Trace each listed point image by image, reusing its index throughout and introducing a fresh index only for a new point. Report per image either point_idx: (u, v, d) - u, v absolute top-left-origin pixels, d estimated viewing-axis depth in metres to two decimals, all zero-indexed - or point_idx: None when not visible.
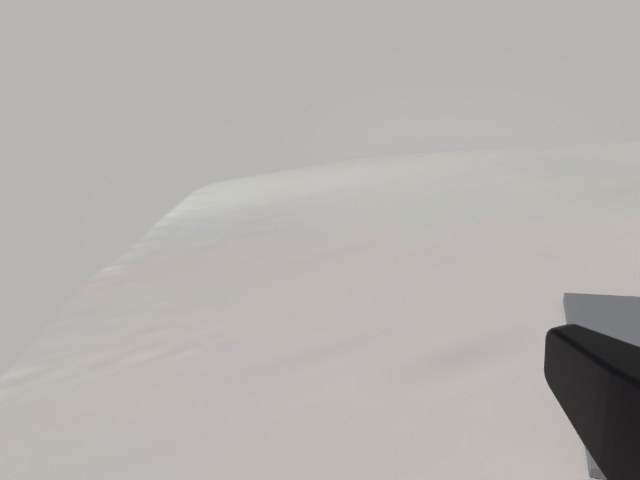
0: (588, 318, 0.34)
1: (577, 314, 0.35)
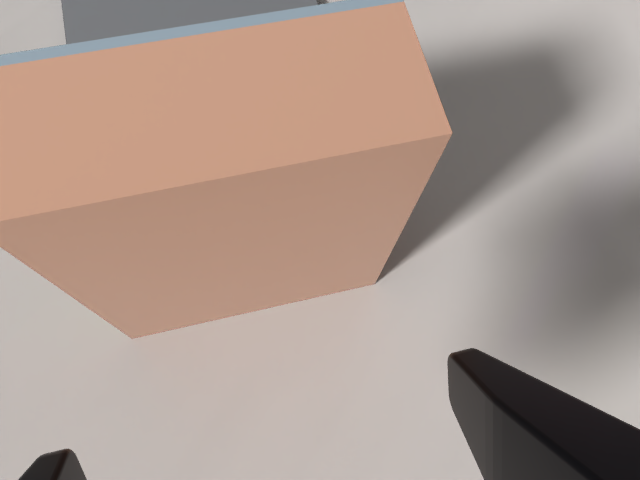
0: (86, 2, 0.27)
1: None
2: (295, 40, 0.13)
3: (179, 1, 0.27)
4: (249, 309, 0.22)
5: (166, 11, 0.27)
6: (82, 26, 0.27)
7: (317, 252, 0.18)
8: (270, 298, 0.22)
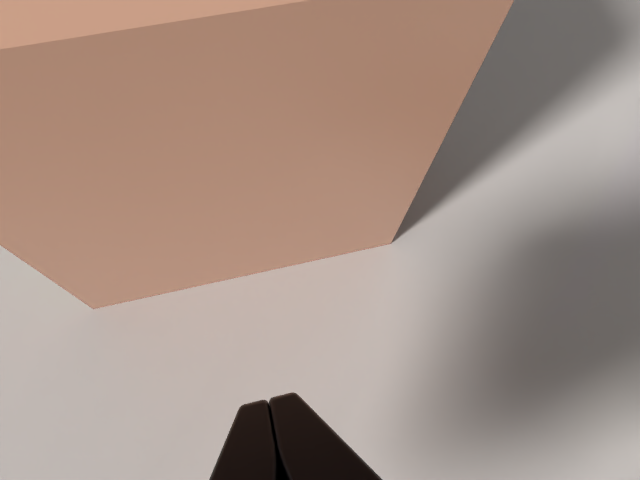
0: None
1: None
2: None
3: None
4: (237, 273, 0.18)
5: None
6: None
7: (322, 186, 0.14)
8: (263, 258, 0.17)
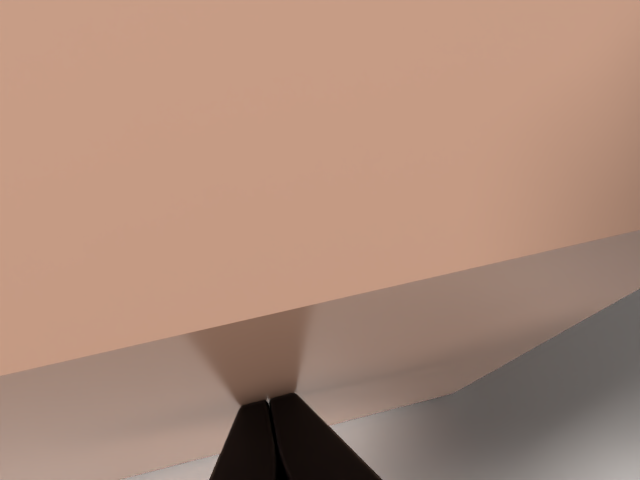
0: None
1: None
2: None
3: None
4: None
5: None
6: None
7: (394, 383, 0.10)
8: None
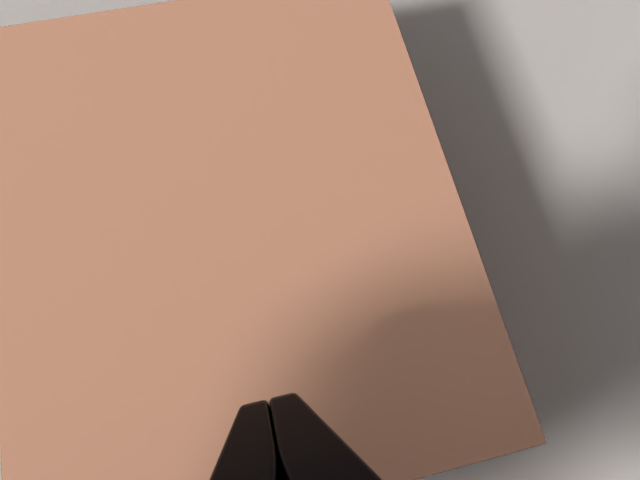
0: None
1: None
2: None
3: None
4: None
5: None
6: None
7: (334, 200, 0.12)
8: None
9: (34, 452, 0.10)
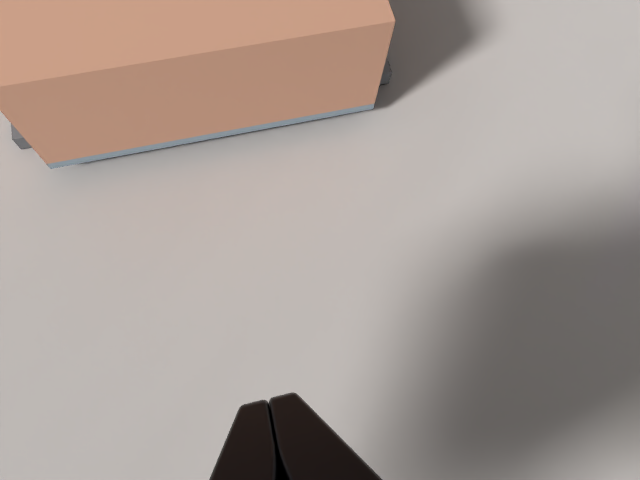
0: None
1: None
2: None
3: None
4: (184, 39, 0.14)
5: None
6: None
7: None
8: (212, 2, 0.14)
9: (3, 12, 0.14)
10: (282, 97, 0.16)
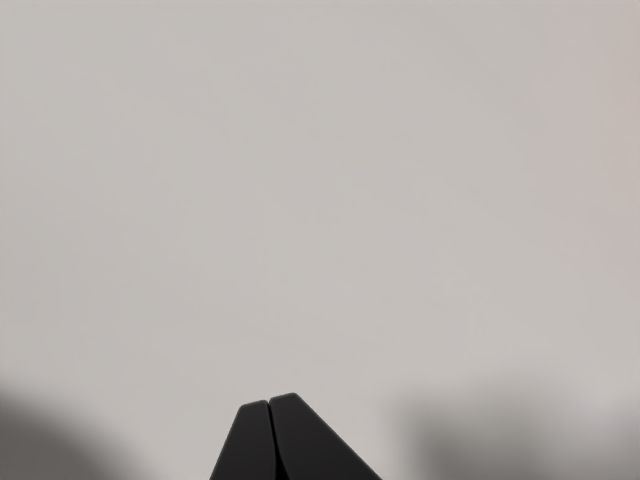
0: None
1: None
2: None
3: None
4: None
5: None
6: None
7: None
8: None
9: None
10: None
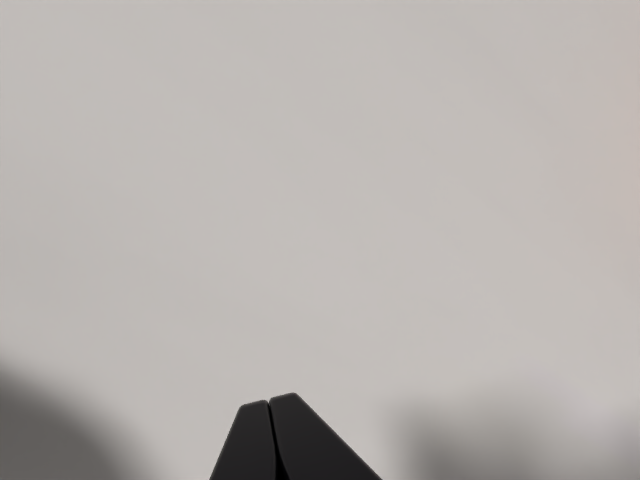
0: None
1: None
2: None
3: None
4: None
5: None
6: None
7: None
8: None
9: None
10: None
